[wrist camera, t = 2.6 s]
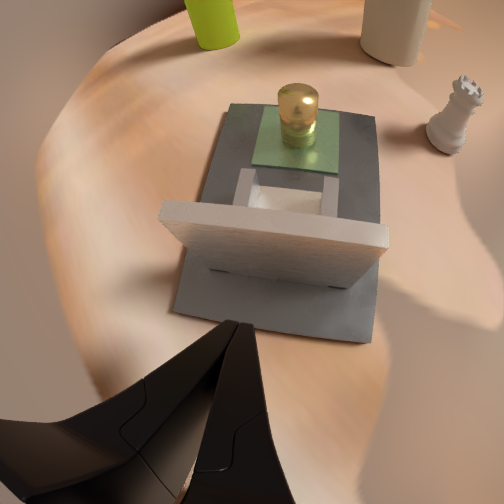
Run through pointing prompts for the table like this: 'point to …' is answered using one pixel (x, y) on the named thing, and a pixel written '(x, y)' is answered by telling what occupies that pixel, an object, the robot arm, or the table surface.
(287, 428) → the table surface
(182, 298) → the base
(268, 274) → the grey bracket
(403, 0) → the travel mug
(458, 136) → the rook chess piece
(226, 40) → the soap dispenser
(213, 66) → the table surface
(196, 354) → the robot arm
